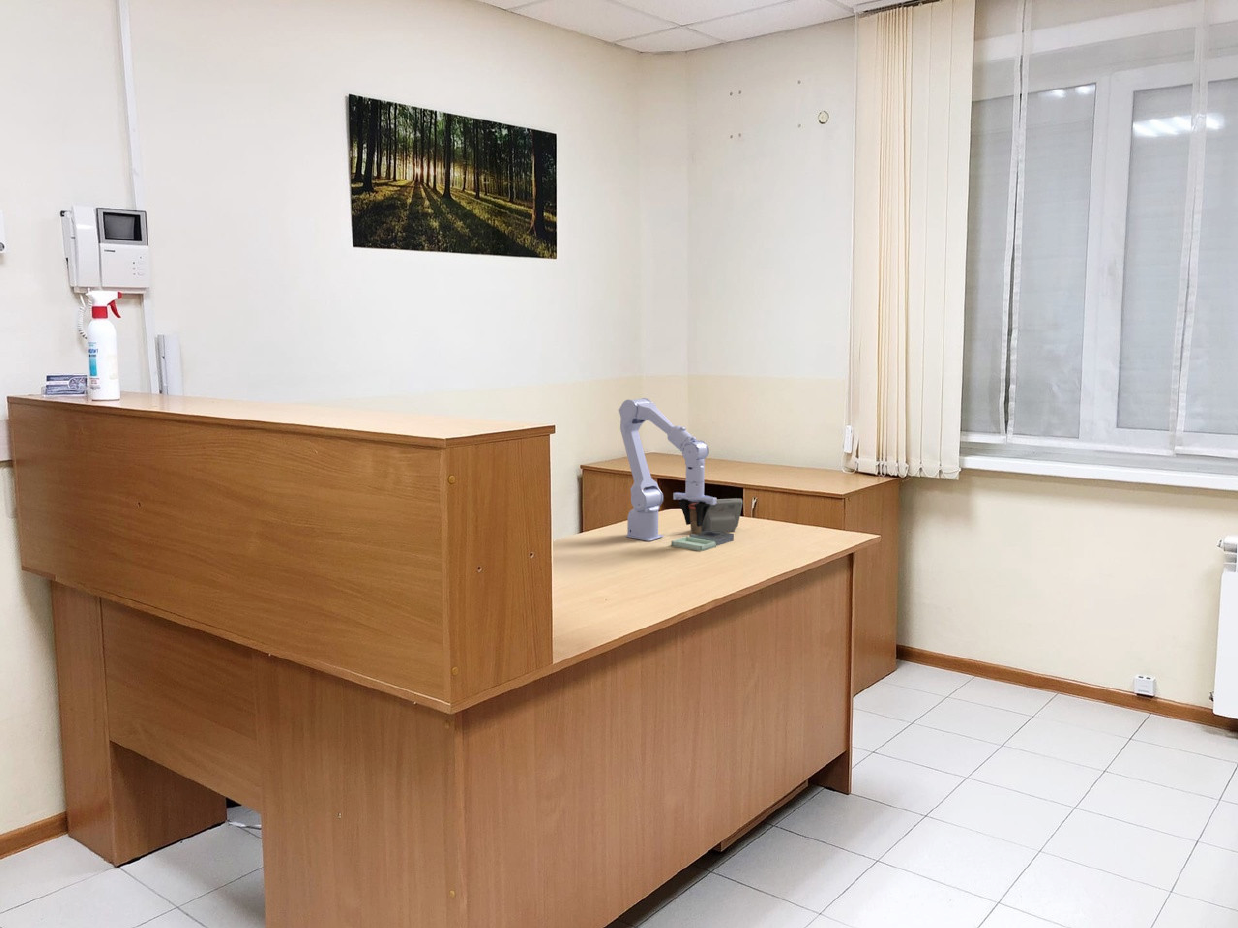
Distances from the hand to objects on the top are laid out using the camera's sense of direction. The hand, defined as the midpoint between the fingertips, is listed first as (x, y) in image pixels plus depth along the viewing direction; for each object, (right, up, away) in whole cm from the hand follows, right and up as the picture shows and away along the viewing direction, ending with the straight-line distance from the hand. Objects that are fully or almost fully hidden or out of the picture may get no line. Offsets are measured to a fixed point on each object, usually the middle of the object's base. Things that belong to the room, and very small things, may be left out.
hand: (694, 525), depth 302 cm
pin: (+1, -2, +1) cm, 3 cm away
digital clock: (+10, -3, +24) cm, 26 cm away
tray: (0, -6, +1) cm, 6 cm away
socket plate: (+6, -5, +9) cm, 12 cm away
